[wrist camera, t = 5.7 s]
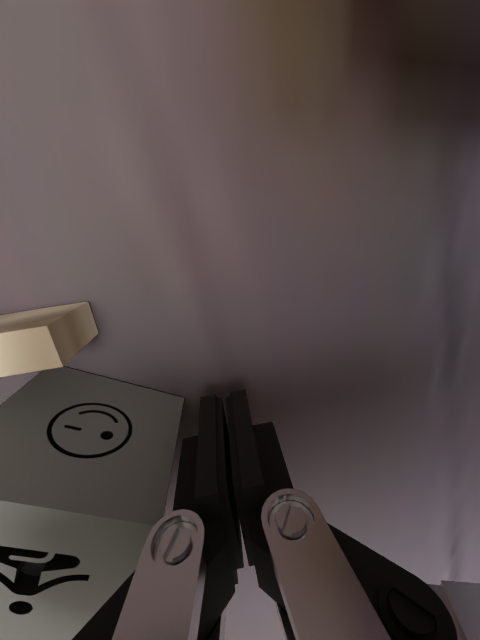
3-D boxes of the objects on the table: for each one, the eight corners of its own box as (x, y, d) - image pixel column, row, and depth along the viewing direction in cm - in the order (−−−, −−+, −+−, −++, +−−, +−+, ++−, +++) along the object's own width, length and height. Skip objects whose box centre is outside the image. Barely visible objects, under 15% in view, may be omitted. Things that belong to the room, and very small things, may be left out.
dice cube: (184, 398, 11) (161, 526, 6) (150, 489, 12) (111, 652, 8) (51, 363, 10) (-96, 484, 5) (30, 466, 11) (-102, 638, 7)
